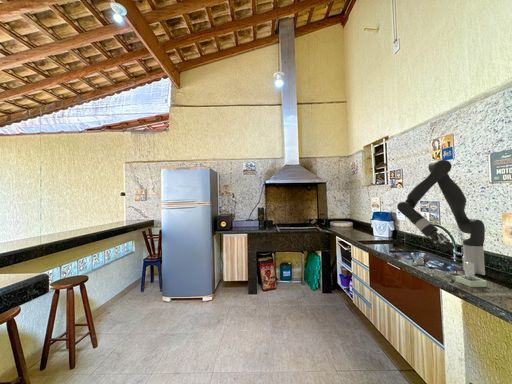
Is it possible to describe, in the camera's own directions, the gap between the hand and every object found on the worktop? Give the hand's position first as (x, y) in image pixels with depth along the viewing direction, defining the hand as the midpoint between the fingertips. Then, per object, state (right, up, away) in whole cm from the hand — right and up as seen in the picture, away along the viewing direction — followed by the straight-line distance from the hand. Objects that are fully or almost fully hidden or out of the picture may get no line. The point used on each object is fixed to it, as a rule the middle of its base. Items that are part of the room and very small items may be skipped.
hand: (450, 249), depth 130 cm
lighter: (+5, -19, +35) cm, 40 cm away
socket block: (+4, -18, +1) cm, 18 cm away
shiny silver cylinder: (+4, -16, -8) cm, 18 cm away
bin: (+4, -17, -8) cm, 19 cm away
